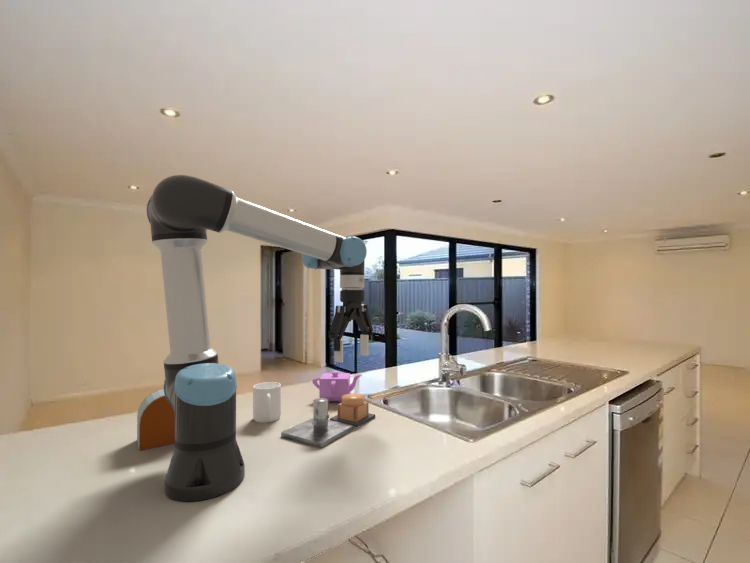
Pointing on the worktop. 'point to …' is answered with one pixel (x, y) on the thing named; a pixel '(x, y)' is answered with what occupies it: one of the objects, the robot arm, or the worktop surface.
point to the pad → (355, 424)
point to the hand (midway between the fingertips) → (352, 358)
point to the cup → (266, 402)
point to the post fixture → (318, 427)
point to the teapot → (334, 385)
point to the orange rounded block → (155, 421)
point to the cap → (353, 407)
